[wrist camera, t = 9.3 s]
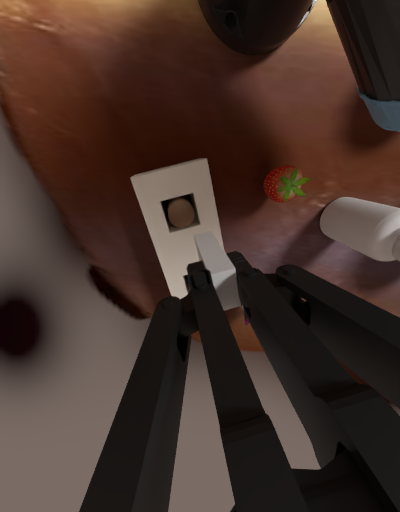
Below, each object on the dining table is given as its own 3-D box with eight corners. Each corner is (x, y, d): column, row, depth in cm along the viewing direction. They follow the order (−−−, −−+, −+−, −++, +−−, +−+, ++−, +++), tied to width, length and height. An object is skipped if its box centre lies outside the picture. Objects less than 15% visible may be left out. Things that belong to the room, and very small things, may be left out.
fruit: (269, 203, 37) (294, 213, 30) (248, 184, 35) (271, 191, 28) (290, 177, 36) (323, 182, 29) (271, 156, 34) (300, 156, 27)
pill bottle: (316, 241, 42) (389, 280, 29) (319, 201, 39) (403, 224, 25) (353, 232, 43) (441, 266, 29) (359, 191, 39) (462, 209, 26)
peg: (164, 197, 33) (164, 205, 28) (186, 192, 33) (191, 198, 28) (170, 219, 35) (172, 230, 29) (191, 213, 35) (197, 223, 30)
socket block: (135, 174, 32) (130, 177, 26) (199, 158, 32) (207, 158, 27) (177, 298, 42) (179, 319, 37) (225, 285, 43) (234, 303, 38)
